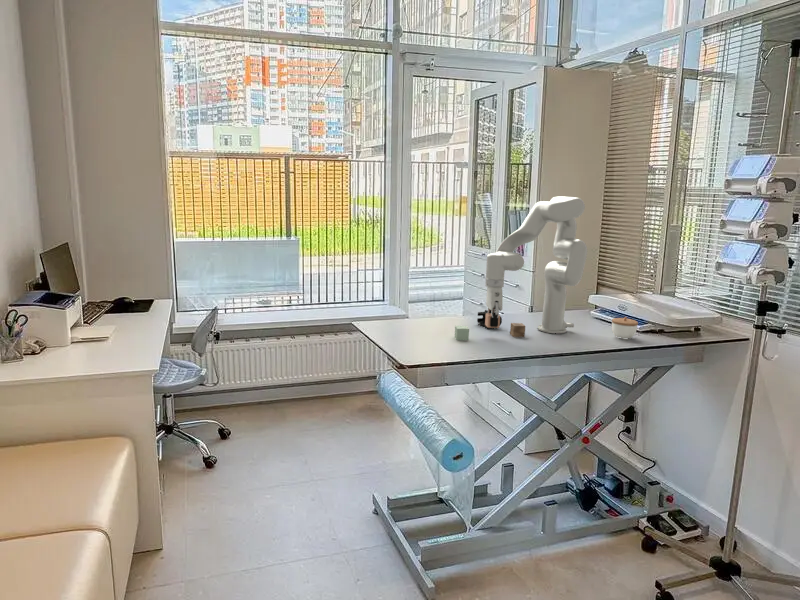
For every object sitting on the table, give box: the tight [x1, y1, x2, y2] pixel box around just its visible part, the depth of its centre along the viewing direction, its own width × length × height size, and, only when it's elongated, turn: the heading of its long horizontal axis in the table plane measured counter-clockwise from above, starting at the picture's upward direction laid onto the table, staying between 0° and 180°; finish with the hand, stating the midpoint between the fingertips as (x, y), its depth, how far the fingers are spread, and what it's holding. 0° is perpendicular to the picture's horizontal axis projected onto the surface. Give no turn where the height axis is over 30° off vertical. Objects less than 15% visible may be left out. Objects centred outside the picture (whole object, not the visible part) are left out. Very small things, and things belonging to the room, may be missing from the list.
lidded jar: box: [611, 316, 639, 339], centre depth 262 cm, size 11×11×9 cm
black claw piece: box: [476, 309, 503, 330], centre depth 272 cm, size 10×7×7 cm
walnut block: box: [509, 322, 526, 338], centre depth 258 cm, size 5×5×5 cm
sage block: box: [454, 325, 470, 341], centre depth 249 cm, size 5×5×5 cm
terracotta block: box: [485, 313, 501, 329], centre depth 252 cm, size 5×5×5 cm
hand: (492, 324), depth 253 cm, fingers closed on terracotta block, 5 cm apart
